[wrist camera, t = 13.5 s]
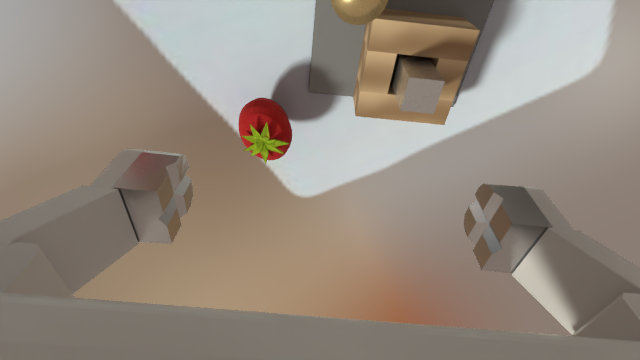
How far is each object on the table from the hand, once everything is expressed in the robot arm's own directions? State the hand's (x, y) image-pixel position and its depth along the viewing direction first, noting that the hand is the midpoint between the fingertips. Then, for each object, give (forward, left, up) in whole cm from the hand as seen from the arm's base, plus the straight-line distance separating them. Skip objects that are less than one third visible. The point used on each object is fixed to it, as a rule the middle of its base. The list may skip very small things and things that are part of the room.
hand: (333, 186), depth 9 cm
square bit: (+6, +9, -30) cm, 32 cm away
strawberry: (+14, -6, -31) cm, 35 cm away
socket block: (+6, +9, -31) cm, 33 cm away
